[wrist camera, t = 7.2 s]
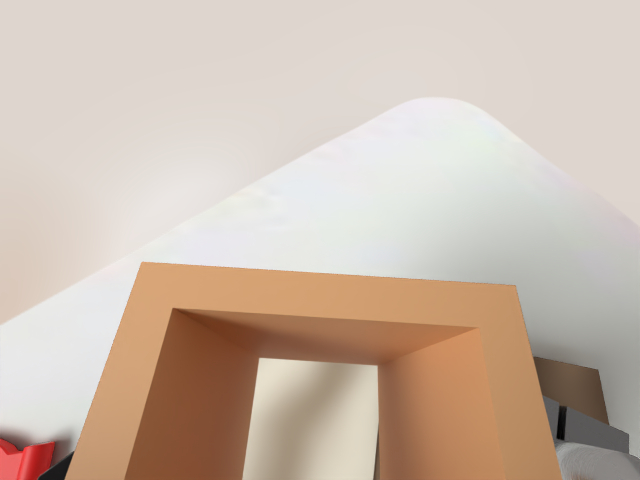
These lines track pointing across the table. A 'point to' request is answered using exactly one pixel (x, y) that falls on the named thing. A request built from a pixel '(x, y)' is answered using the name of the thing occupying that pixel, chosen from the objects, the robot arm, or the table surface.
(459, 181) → the table surface
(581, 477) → the vise
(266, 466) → the board
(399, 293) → the tan cardboard box
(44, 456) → the tow hook
